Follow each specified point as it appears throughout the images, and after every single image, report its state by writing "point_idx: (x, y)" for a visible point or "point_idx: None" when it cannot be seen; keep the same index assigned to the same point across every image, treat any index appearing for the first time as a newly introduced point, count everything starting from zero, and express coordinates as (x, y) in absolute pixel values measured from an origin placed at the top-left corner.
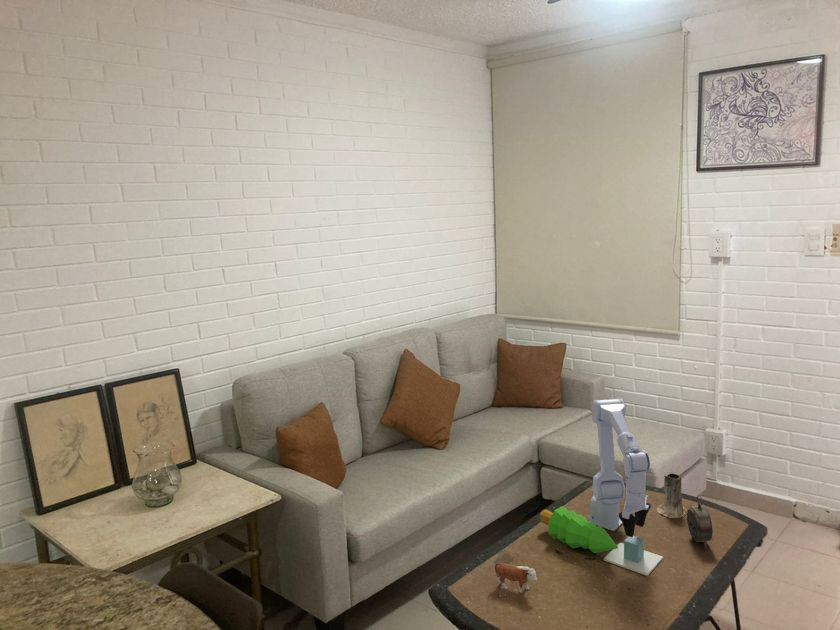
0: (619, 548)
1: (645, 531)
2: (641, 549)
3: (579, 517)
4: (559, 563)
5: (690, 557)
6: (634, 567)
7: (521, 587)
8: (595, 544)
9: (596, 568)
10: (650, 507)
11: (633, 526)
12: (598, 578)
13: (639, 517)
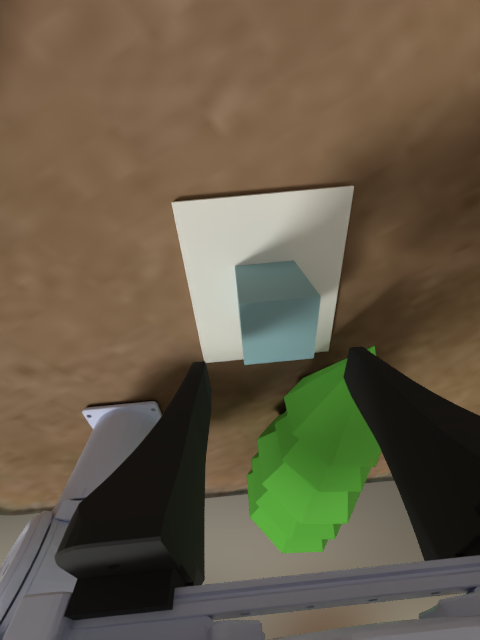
0: (241, 348)
1: (62, 345)
2: (266, 281)
3: (318, 514)
4: None
5: (40, 78)
6: (329, 255)
7: None
8: None
9: (380, 339)
10: (95, 507)
11: (460, 407)
12: (435, 310)
13: (201, 429)
